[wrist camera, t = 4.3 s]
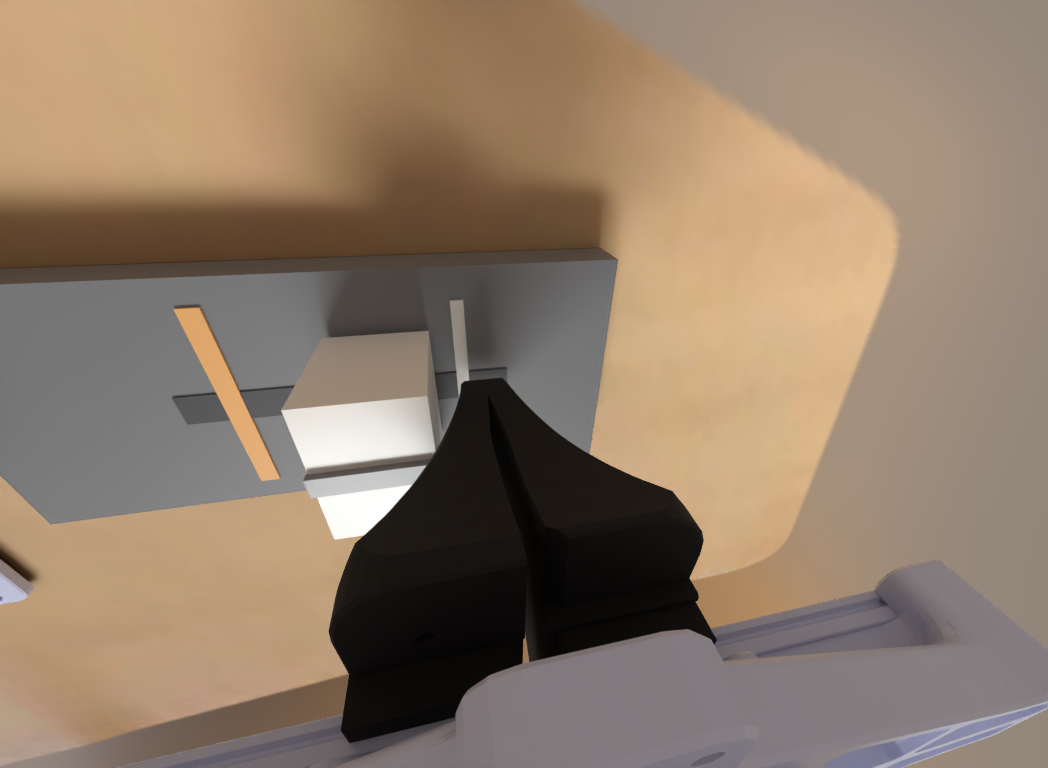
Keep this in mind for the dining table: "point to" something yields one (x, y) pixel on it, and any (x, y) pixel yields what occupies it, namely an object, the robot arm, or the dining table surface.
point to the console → (263, 362)
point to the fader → (364, 424)
